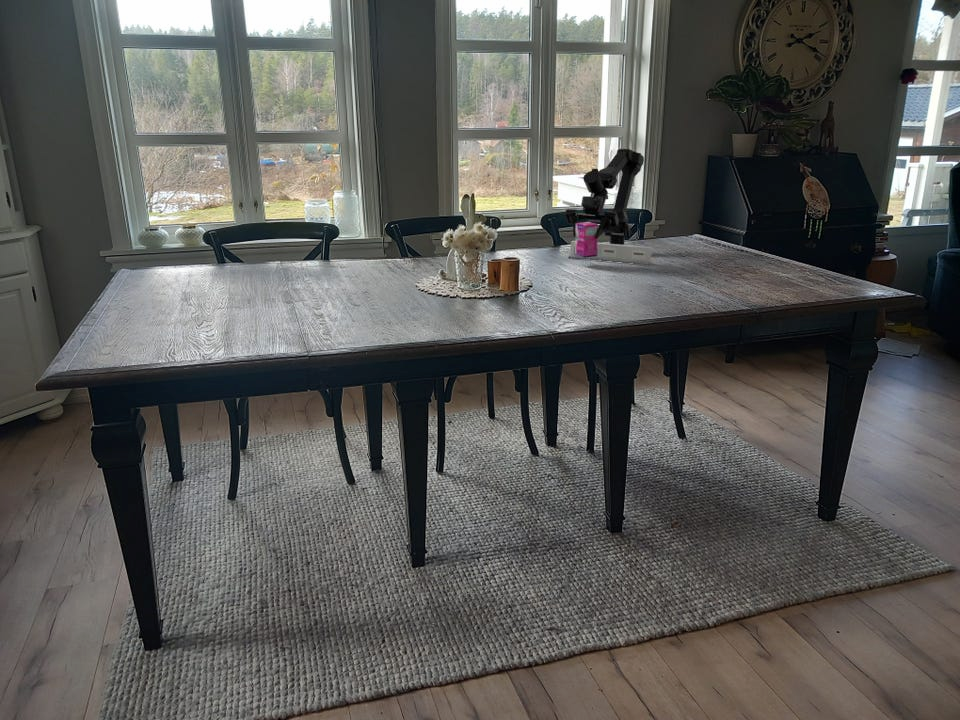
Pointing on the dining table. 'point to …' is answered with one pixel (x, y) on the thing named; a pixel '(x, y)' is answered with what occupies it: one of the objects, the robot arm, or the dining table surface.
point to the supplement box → (586, 239)
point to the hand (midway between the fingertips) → (584, 237)
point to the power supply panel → (618, 253)
